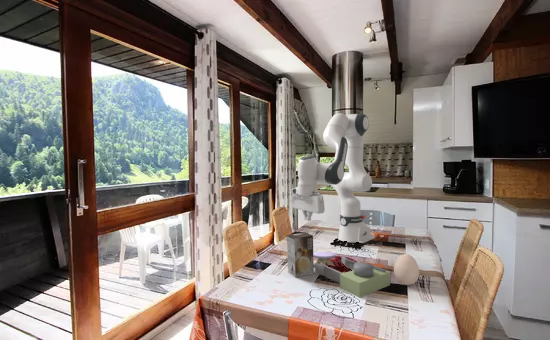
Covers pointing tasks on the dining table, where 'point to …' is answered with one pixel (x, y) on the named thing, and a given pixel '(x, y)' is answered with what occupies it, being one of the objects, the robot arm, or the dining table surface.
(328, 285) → the dining table surface
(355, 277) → the green block with dome
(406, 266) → the egg
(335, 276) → the chute mount
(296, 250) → the coffee box
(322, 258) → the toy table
